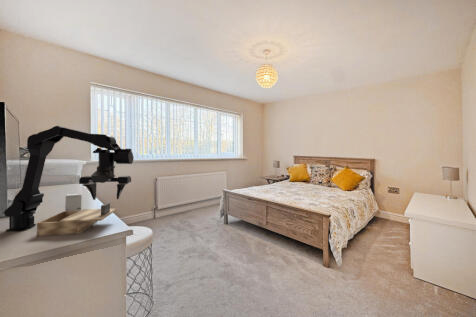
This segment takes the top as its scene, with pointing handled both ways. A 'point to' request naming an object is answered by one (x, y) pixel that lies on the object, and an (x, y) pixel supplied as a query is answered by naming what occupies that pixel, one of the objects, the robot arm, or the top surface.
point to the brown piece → (61, 225)
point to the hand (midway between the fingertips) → (106, 199)
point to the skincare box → (73, 202)
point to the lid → (90, 214)
